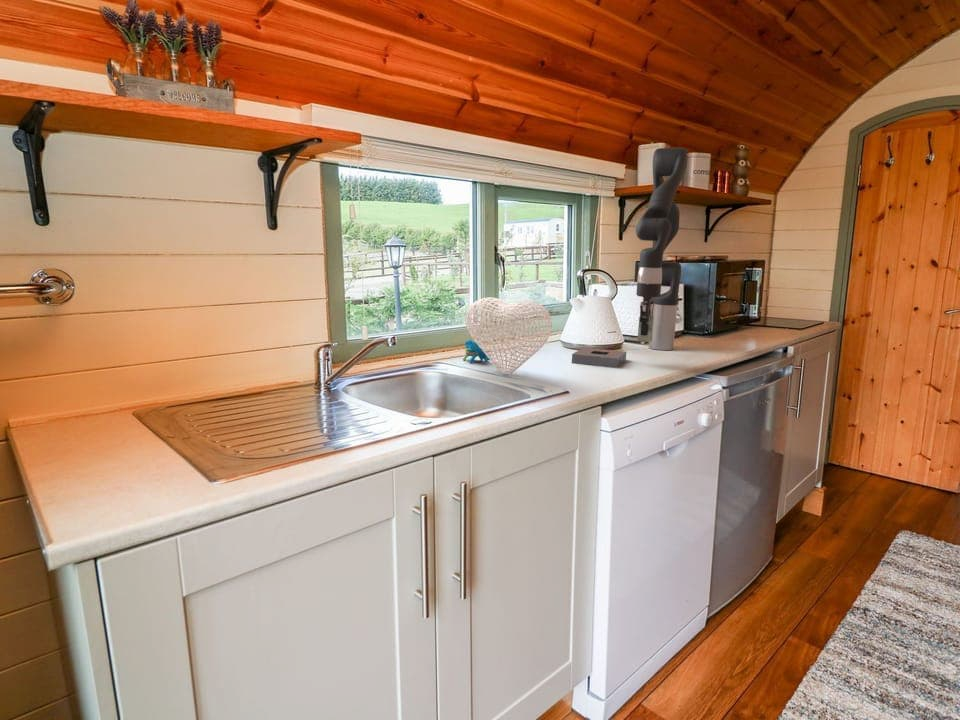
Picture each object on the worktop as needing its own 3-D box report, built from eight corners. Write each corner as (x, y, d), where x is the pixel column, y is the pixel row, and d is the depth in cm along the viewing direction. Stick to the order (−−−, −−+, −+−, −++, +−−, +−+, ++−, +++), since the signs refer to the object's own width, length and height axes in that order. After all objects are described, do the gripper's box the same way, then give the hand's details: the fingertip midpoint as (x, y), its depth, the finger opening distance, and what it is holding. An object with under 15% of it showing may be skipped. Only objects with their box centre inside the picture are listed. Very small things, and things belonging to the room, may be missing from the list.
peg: (639, 339, 194) (641, 315, 192) (651, 340, 192) (653, 316, 191) (637, 341, 190) (639, 317, 189) (649, 342, 189) (651, 317, 187)
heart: (559, 378, 169) (563, 302, 165) (526, 386, 158) (529, 304, 154) (488, 363, 188) (490, 294, 184) (454, 369, 177) (455, 296, 173)
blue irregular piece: (498, 358, 188) (479, 338, 183) (488, 372, 186) (469, 352, 181) (478, 357, 197) (460, 338, 192) (469, 371, 195) (450, 351, 190)
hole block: (583, 355, 206) (583, 347, 206) (625, 360, 200) (626, 351, 200) (571, 362, 193) (572, 354, 192) (617, 367, 187) (617, 358, 186)
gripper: (641, 279, 195) (637, 330, 199) (633, 282, 183) (629, 336, 186) (664, 280, 192) (659, 332, 196) (658, 283, 180) (653, 338, 183)
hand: (645, 333), depth 191 cm, fingers closed on peg, 4 cm apart
